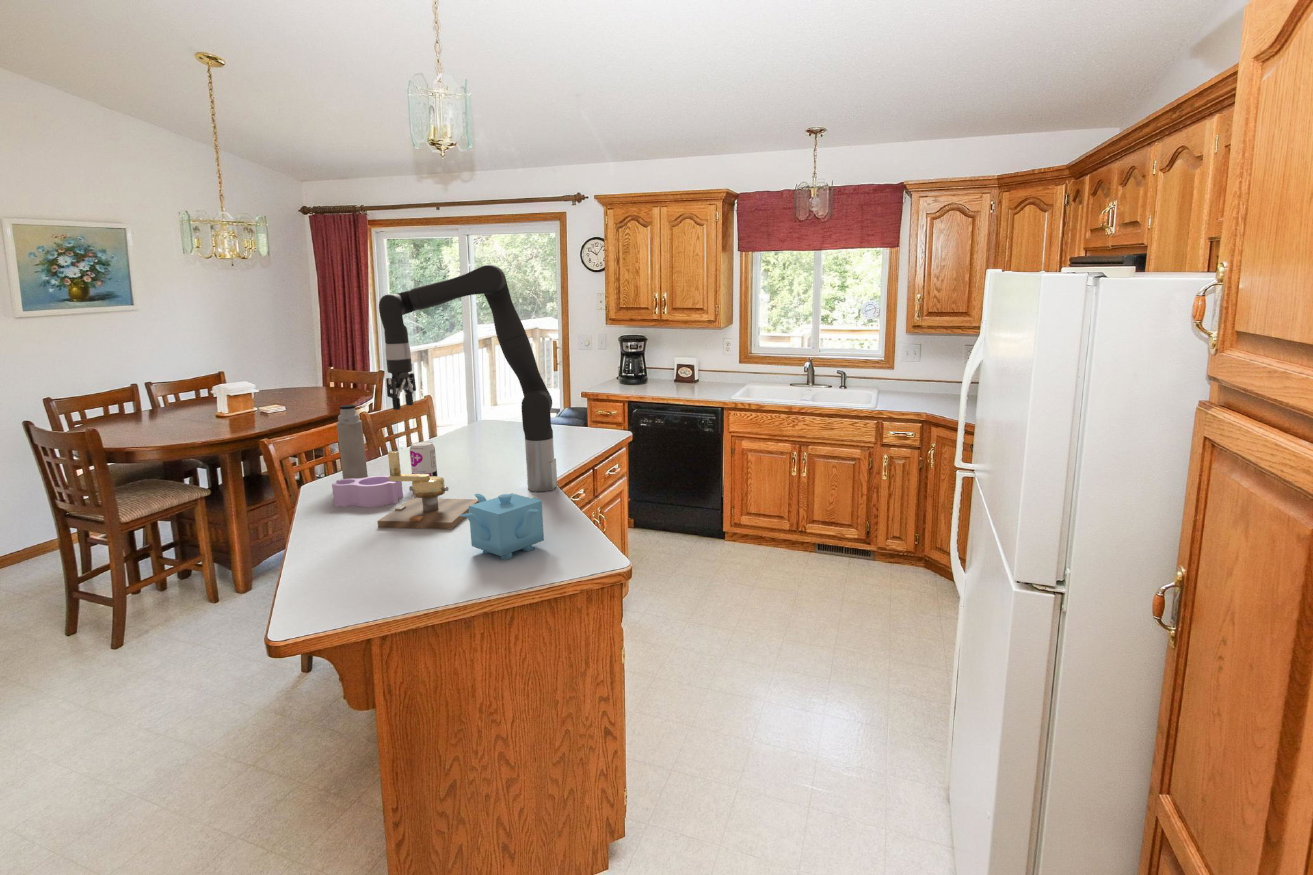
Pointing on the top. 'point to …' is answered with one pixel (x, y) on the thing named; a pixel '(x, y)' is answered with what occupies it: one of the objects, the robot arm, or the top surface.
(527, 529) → the teakettle
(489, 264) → the robot arm
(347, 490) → the lavender double cup holder
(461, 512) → the walnut base
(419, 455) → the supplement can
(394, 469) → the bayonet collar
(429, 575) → the top surface
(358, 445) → the thermos bottle
